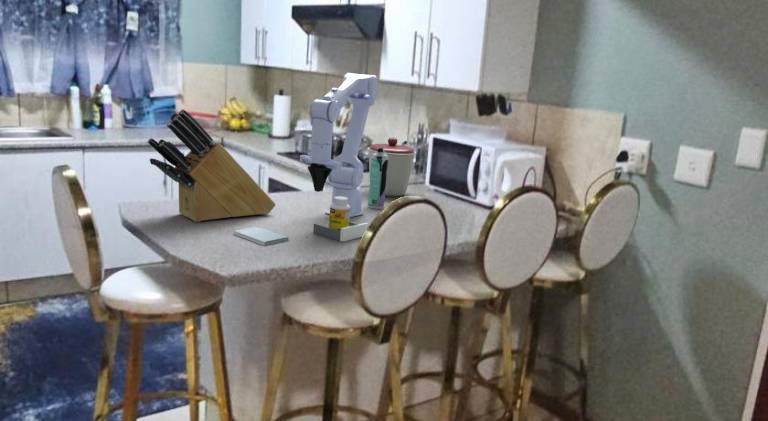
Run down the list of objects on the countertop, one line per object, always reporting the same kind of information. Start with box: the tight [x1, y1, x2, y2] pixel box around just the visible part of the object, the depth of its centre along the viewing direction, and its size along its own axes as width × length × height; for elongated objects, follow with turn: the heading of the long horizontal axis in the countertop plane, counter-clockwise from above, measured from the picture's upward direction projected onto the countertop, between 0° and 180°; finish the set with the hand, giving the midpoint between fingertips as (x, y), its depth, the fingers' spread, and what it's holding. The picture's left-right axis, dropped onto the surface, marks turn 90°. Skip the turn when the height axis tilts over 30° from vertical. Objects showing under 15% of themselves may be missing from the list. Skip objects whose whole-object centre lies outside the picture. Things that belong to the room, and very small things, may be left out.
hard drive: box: [233, 226, 290, 246], centre depth 165 cm, size 2×8×12 cm
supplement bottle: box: [328, 196, 351, 231], centre depth 174 cm, size 6×6×10 cm
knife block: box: [147, 108, 276, 223], centre depth 178 cm, size 11×35×31 cm, turn 131°
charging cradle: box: [312, 220, 370, 243], centre depth 174 cm, size 11×11×4 cm
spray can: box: [367, 148, 388, 210], centre depth 209 cm, size 6×6×20 cm
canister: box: [367, 136, 417, 197], centre depth 231 cm, size 18×18×21 cm
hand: (318, 191), depth 178 cm, fingers closed
